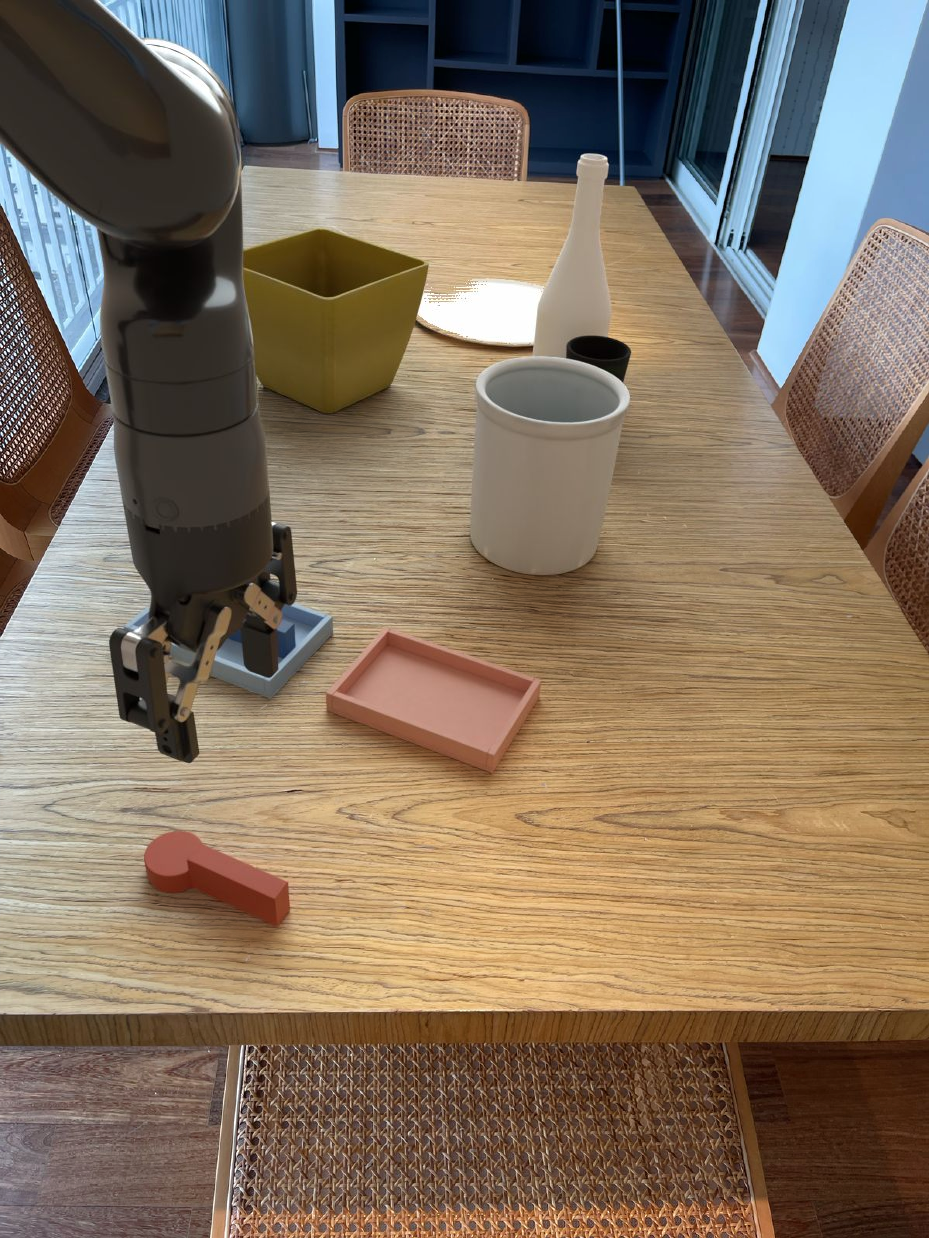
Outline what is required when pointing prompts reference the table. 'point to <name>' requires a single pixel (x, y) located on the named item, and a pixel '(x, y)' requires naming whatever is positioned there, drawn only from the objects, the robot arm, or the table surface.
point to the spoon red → (215, 876)
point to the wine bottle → (577, 271)
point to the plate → (487, 312)
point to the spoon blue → (284, 638)
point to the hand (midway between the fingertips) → (223, 711)
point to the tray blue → (308, 638)
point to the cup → (600, 353)
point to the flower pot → (330, 315)
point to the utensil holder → (543, 461)
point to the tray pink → (435, 698)
